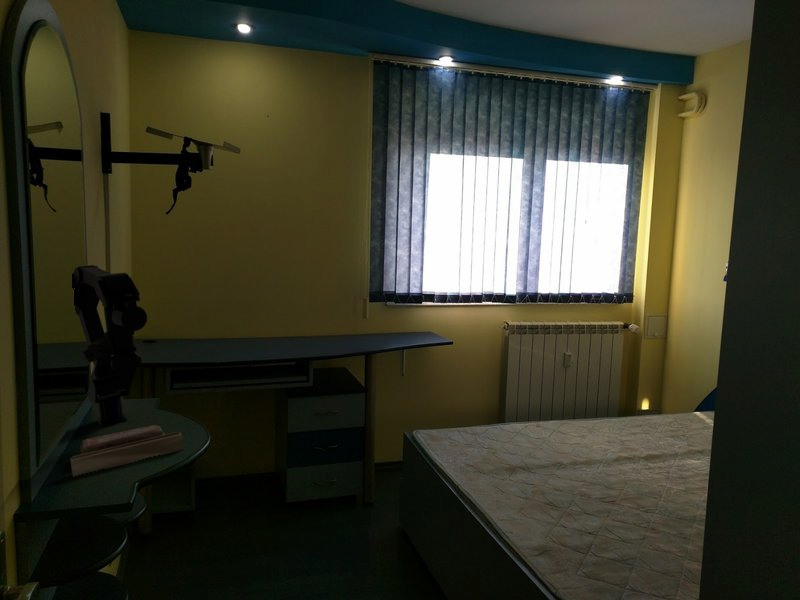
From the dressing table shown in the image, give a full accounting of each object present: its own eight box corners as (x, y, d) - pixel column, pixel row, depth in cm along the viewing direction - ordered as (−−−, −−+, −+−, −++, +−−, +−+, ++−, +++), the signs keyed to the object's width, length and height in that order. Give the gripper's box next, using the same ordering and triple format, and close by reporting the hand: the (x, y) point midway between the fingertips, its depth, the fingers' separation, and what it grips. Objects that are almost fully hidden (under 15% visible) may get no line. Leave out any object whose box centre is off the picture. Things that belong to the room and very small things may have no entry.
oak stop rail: (72, 473, 122) (69, 456, 121) (181, 446, 133) (180, 430, 133) (73, 477, 120) (70, 459, 120) (183, 449, 132) (182, 433, 131)
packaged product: (81, 450, 123) (77, 436, 131) (84, 471, 124) (80, 456, 132) (170, 429, 132) (162, 417, 141) (173, 449, 133) (164, 436, 142)
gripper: (79, 325, 144) (88, 386, 146) (82, 337, 128) (92, 406, 130) (129, 318, 149) (136, 377, 152) (138, 330, 133) (146, 396, 136)
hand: (127, 389), depth 142 cm, fingers closed
